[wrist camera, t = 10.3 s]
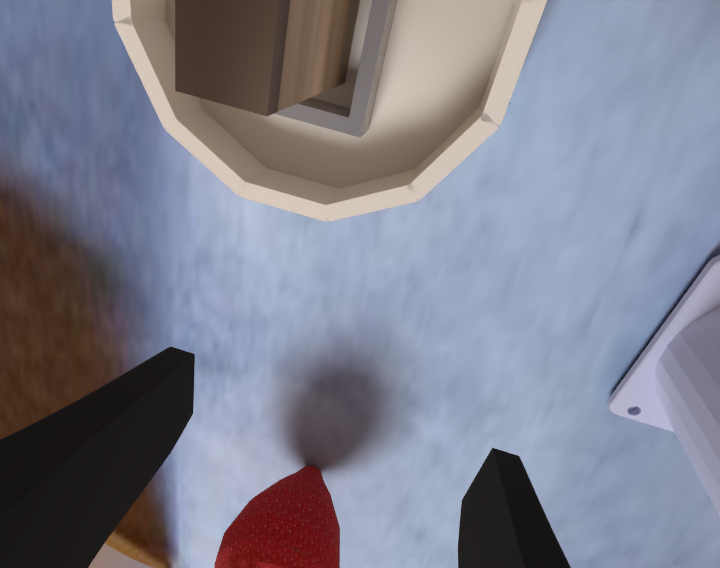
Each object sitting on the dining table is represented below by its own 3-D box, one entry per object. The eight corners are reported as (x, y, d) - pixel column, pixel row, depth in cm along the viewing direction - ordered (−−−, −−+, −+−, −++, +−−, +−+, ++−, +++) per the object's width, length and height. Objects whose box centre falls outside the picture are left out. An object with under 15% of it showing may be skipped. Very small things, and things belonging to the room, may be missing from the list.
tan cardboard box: (372, -64, 13) (293, -146, 7) (344, 82, 15) (267, 116, 9) (306, -80, 13) (174, -174, 7) (288, 67, 15) (175, 90, 9)
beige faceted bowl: (610, -206, 11) (645, -262, 9) (452, 230, 17) (450, 258, 15) (155, -307, 12) (86, -382, 10) (162, 147, 18) (122, 162, 16)
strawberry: (248, 481, 28) (155, 675, 20) (284, 408, 24) (188, 612, 16) (332, 519, 28) (276, 728, 20) (381, 454, 25) (337, 679, 16)
